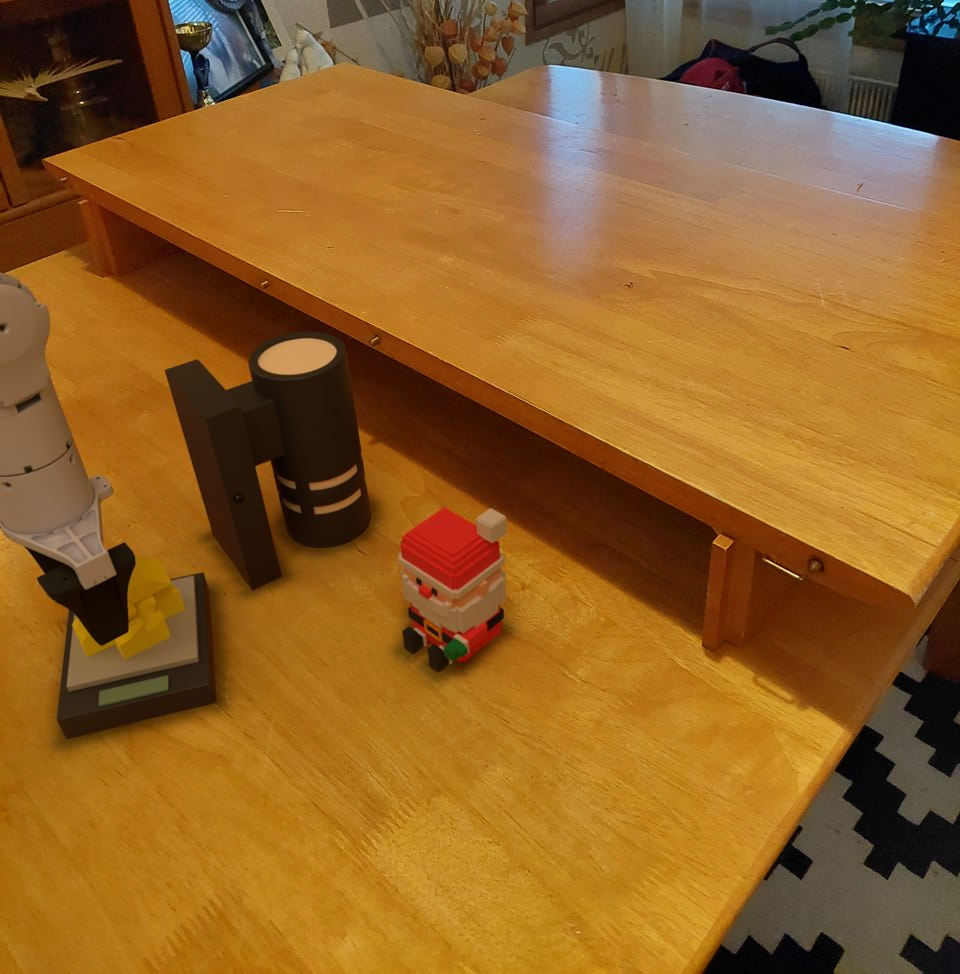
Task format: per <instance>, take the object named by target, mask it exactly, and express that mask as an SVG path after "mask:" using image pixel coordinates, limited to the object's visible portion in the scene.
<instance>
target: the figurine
mask: <svg viewBox="0 0 960 974" xmlns="http://www.w3.org/2000/svg"><path fill="white" fill-rule="evenodd" d="M475 522H476V524H475V523H473V522H471V521H469V520H468V519H466V518H465V517H463V516H461V515H459V514H457V513H455V512H454V511H452V510H451V509H449V508H447V507H445V506H444V507H443V508H441V509H440V510H438V511H436V512H435V513H434V514H431V516H429V517H427V518H426V519H424V520H423V521H422V522H420V523H418V524H417V525H416V526H414V527H413V528H411V529H410V530H408V531H407V532H405V534H404V535H402V536H401V541H400V544H399V545H400V546H399V547H400V553H398V554H397V563H398V565H399V566H400V567H402V570H401V571H400V572H399V573H400V578H401V580H400V581H401V586H402V594H403V599H404V600H405V601H407V602H408V603H409V604H410V606H409V607H408V608H407V613H408V618H409V619H411V620H412V626H413V628H412V626H410V625H408V626H407V627H406V628H404V629H403V630H402V631H401V632H402V640H403V646H404V649H406V650H407V651H408V652H410V653H411V654H414V653H416V652H417V651H418V650H420V649H421V648H422V647H424V648H426V647H427V646H428V643H431V644H432V645H431V646H429V647H428V648H427V654H428V663H429V667H431V668H432V669H434V671H436V672H440V671H442V669H444V668H445V667H446V666H448V665H449V666H451V665H453V663H455V662H458V663H461V662H462V663H466V662H467V661H468V660H470V659H471V658H472V657H473V656H474V655H475V654H477V653H478V652H479V651H480V650H481V649H482V648H484V647H485V646H486V645H487V644H488V643H490V642H491V641H492V640H493V639H495V638H496V637H497V636H499V635H500V634H501V633H502V621H503V620H504V619H505V610H504V608H502V607H501V605H502V604H503V603H504V602H506V601H507V581H506V572H505V571H504V570H502V569H501V568H502V567H503V566H505V565H506V560H505V559H506V558H505V554H503V553H501V549H500V548H501V547H500V541H498V540H499V539H501V538H502V537H504V536H505V535H507V534H508V529H507V528H508V526H507V516H506V515H505V514H503V513H501V512H499V511H497V510H495V509H493V508H491V507H490V508H488V509H487V510H486V511H484V512H482V513H480V515H479V516H476V517H475Z"/></svg>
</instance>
